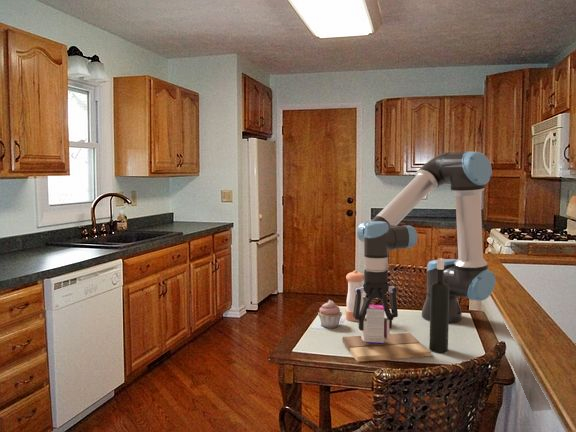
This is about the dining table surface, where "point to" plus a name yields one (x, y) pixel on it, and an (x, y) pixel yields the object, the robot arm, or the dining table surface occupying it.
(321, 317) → the cupcake
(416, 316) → the dining table surface
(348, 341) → the board
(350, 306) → the peach and white cylinder
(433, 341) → the wine bottle
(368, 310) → the supplement box
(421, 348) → the laid plank
